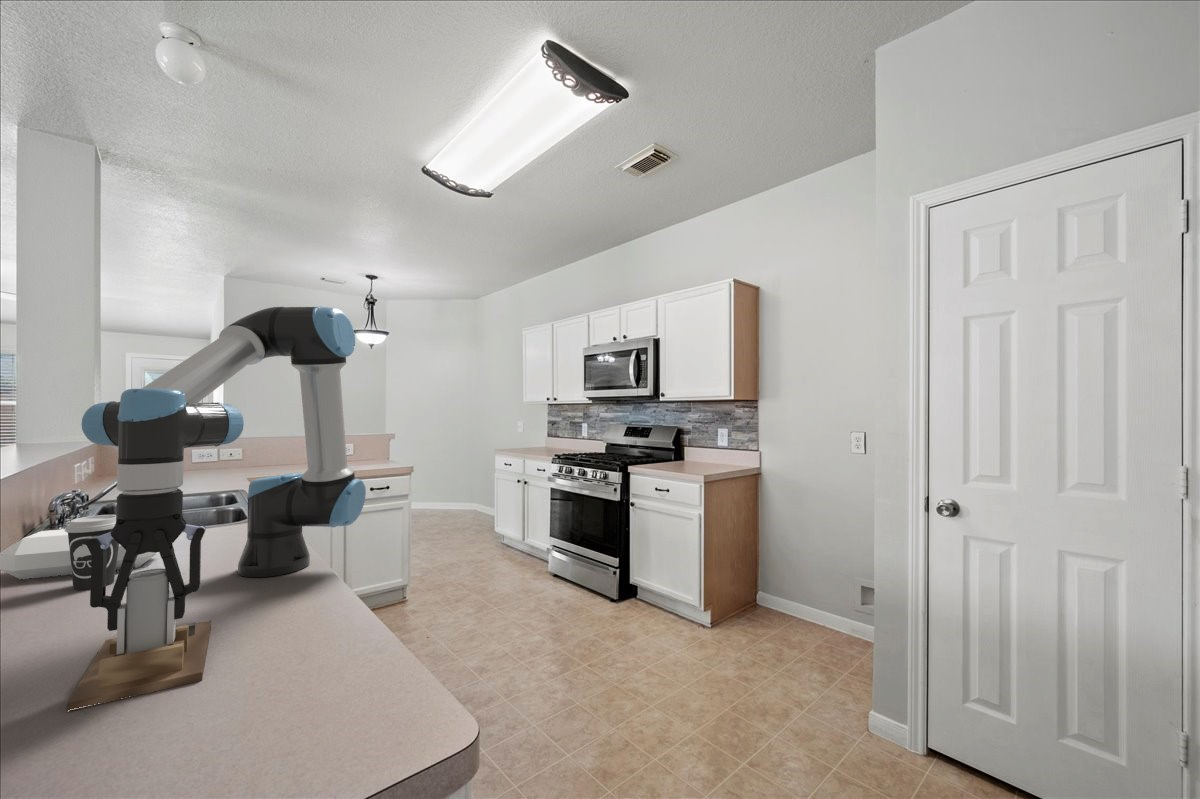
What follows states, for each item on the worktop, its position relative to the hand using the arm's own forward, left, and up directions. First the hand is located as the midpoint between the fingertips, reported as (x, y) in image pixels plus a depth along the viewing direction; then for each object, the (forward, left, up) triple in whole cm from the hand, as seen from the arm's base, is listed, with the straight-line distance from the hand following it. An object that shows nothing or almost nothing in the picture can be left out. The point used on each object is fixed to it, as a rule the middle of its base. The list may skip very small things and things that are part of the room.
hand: (147, 645), depth 76 cm
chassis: (0, -4, -4) cm, 6 cm away
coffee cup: (+16, -57, -5) cm, 59 cm away
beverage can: (0, 0, -1) cm, 1 cm away
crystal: (+20, -74, -5) cm, 77 cm away
